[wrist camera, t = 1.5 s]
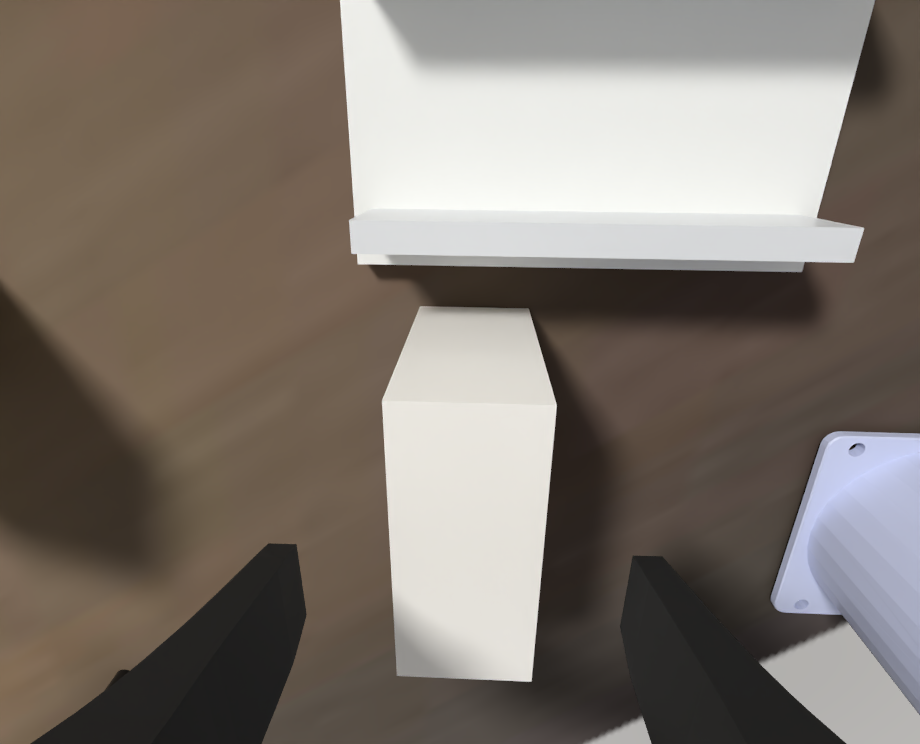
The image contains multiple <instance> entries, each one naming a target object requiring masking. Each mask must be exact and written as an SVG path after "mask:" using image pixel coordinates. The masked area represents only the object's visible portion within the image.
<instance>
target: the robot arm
mask: <svg viewBox="0 0 920 744" xmlns="http://www.w3.org/2000/svg"><path fill="white" fill-rule="evenodd" d="M854 444H857V445H856V447H855V448H853V449H852V450H849V449H850V447H851V446H852V445H854ZM771 602H772V603H773V605H774V607H775V608H776V610H778V611H780V612H784V613H808V614H834V615H843V617H844V618H845V619H846V620H847V622H848V623H849V624H850V626H851V627H852V628H853V629H854V630H855V632H856V633H857V635H858V636H859V637H860V638H861V640H862V641H863V642H864V644H865V645H866V646H867V648H868V649H869V650H870V651H871V653H872V654H873V655H874V657H875V658H876V659H877V660H878V662H879V663H880V664H881V666H882V667H883V668H884V669H885V671H886V672H887V673H888V675H889V676H890V677H891V678H892V680H893V681H894V682H895V684H896V685H897V686H898V688H899V689H900V690H901V691H902V693H903V694H904V695H905V697H906V698H907V699H908V700H909V702H910V703H911V704H912V706H913V707H914V708H915V709H916V711H917V712H918V713H919V715H920V434H916V433H880V432H844V431H839V432H833V433H831V434H829V435H827V436H826V437H825V438H824V439H823V440H822V442H821V444H820V447H819V450H818V453H817V456H816V459H815V462H814V465H813V468H812V471H811V474H810V477H809V481H808V484H807V487H806V490H805V493H804V496H803V499H802V502H801V505H800V508H799V511H798V514H797V517H796V521H795V524H794V527H793V530H792V533H791V536H790V539H789V542H788V545H787V548H786V551H785V554H784V557H783V561H782V564H781V567H780V570H779V573H778V576H777V579H776V582H775V585H774V588H773V591H772V594H771ZM305 618H306V608H305V601H304V594H303V587H302V580H301V573H300V566H299V559H298V552H297V545H296V544H268V545H266V546H265V547H264V548H263V549H262V550H261V551H260V552H259V553H258V554H257V555H256V556H255V557H254V558H253V559H252V560H251V561H250V562H249V563H248V564H247V565H246V566H245V567H244V568H243V569H242V570H241V571H240V572H239V573H238V574H236V575H235V576H234V577H233V578H232V579H231V580H230V581H229V582H228V583H227V584H226V585H225V586H224V587H223V588H222V589H221V590H220V591H219V592H218V593H217V594H216V595H215V596H214V597H213V598H212V599H211V600H210V601H209V602H207V603H206V604H205V605H204V606H203V607H202V608H201V609H200V610H199V611H198V612H197V613H196V614H195V615H194V616H193V617H191V618H190V619H189V620H188V621H187V622H186V623H185V624H184V625H183V626H182V627H181V628H180V629H178V630H177V631H176V632H175V633H174V634H173V635H171V636H170V637H169V638H168V639H167V640H166V641H165V642H163V643H162V644H161V645H160V646H159V647H158V648H157V649H155V650H154V651H153V652H152V653H151V654H150V655H149V656H147V657H146V658H145V659H144V660H143V661H142V662H140V663H139V664H138V665H137V666H135V667H134V668H133V669H132V670H131V671H129V672H128V673H127V674H126V675H124V676H123V677H122V678H121V679H119V680H118V681H117V682H116V683H114V684H113V685H112V686H110V687H109V688H108V689H107V690H105V691H104V692H103V693H101V694H100V695H99V696H97V697H96V698H95V699H93V700H92V701H91V702H89V703H88V704H87V705H85V706H84V707H83V708H81V709H80V710H79V711H77V712H76V713H75V714H73V715H72V716H70V717H69V718H67V719H66V720H64V721H63V722H61V723H60V724H59V725H57V726H56V727H54V728H53V729H51V730H50V731H48V732H47V733H46V734H44V735H43V736H41V737H40V738H38V739H37V740H35V741H34V742H32V743H31V744H261V743H262V741H263V738H264V736H265V733H266V731H267V728H268V726H269V723H270V721H271V718H272V716H273V713H274V711H275V708H276V706H277V703H278V701H279V698H280V696H281V693H282V691H283V688H284V686H285V683H286V681H287V678H288V676H289V673H290V670H291V668H292V665H293V662H294V659H295V655H296V652H297V648H298V645H299V641H300V637H301V634H302V630H303V626H304V622H305ZM620 628H621V633H622V638H623V643H624V648H625V654H626V658H627V663H628V668H629V672H630V677H631V680H632V683H633V687H634V690H635V693H636V696H637V699H638V702H639V706H640V709H641V712H642V715H643V718H644V721H645V724H646V728H647V730H648V734H649V737H650V740H651V743H652V744H846V743H845V742H844V741H842V740H841V739H840V738H839V737H838V736H837V735H836V734H835V733H833V732H832V731H831V730H830V729H829V728H828V727H827V726H826V725H824V724H823V723H822V722H821V721H820V720H819V719H817V718H816V717H815V716H814V715H813V714H812V713H811V712H810V711H808V710H807V709H806V708H805V707H804V706H803V705H802V704H801V703H799V701H797V700H796V699H795V698H794V697H793V696H792V695H791V694H790V693H789V692H788V691H787V690H786V689H785V688H784V687H783V686H782V685H781V684H780V683H779V682H778V681H777V680H775V679H774V678H773V677H772V676H771V675H770V674H769V673H768V672H767V671H766V670H765V669H764V668H763V667H762V666H761V665H760V664H759V663H758V662H757V661H756V660H755V659H754V658H753V657H752V655H751V654H750V653H749V652H748V651H747V650H746V649H745V648H744V647H743V646H742V645H741V644H740V643H739V642H738V641H737V640H736V639H735V638H734V636H733V635H732V634H731V633H730V632H729V631H728V630H727V629H726V628H725V627H724V626H723V625H722V624H721V623H720V621H719V620H718V619H717V618H716V617H715V616H714V615H713V614H712V613H711V612H710V610H709V609H708V608H707V607H706V606H705V605H704V604H703V603H702V601H701V600H700V599H699V598H698V597H697V596H696V595H695V593H694V592H693V591H692V590H691V589H690V588H689V587H688V585H687V584H686V583H685V582H684V581H683V580H682V579H681V577H680V576H679V575H678V574H677V573H676V572H675V571H674V569H673V568H672V567H671V566H670V565H669V564H668V563H667V561H666V560H665V559H664V558H663V557H658V556H633V558H632V564H631V569H630V575H629V580H628V586H627V591H626V597H625V602H624V608H623V614H622V619H621V625H620Z"/></svg>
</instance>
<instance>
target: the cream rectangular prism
mask: <svg viewBox="0 0 920 744" xmlns="http://www.w3.org/2000/svg"><path fill="white" fill-rule="evenodd" d="M382 409H383V427H384V445H385V464H386V482H387V500H388V519H389V537H390V555H391V574H392V592H393V610H394V629H395V647H396V665H397V676H413V677H436V678H458V679H481V680H503V681H526V682H531V681H532V670H533V660H534V649H535V638H536V627H537V616H538V605H539V594H540V584H541V573H542V562H543V551H544V540H545V529H546V518H547V508H548V497H549V486H550V475H551V464H552V453H553V442H554V431H555V421H556V410H557V404H556V401H555V397H554V394H553V390H552V387H551V383H550V380H549V376H548V373H547V370H546V366H545V363H544V359H543V356H542V352H541V349H540V346H539V342H538V339H537V335H536V332H535V328H534V325H533V322H532V318H531V315H530V311H529V308H484V307H435V306H420V308H419V311H418V313H417V316H416V318H415V321H414V323H413V325H412V328H411V330H410V333H409V335H408V338H407V340H406V343H405V345H404V348H403V350H402V353H401V355H400V358H399V360H398V363H397V365H396V367H395V370H394V372H393V375H392V377H391V380H390V382H389V385H388V387H387V390H386V392H385V395H384V397H383V400H382Z"/></svg>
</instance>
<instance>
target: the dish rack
mask: <svg viewBox="0 0 920 744" xmlns="http://www.w3.org/2000/svg"><path fill="white" fill-rule="evenodd" d="M874 2H875V0H340V6H341V21H342V36H343V51H344V66H345V80H346V95H347V110H348V125H349V140H350V155H351V170H352V185H353V200H354V215H355V217H354V218H352V219H350V220H349V225H350V239H351V253H352V254H357V259H358V264H378V265H434V266H489V267H544V268H600V269H655V270H711V271H766V272H802V270H803V266H804V263H805V262H846V263H854V260H855V257H856V253H857V250H858V247H859V244H860V240H861V237H862V234H863V231H864V228H862V227H857V226H852V225H847V224H842V223H837V222H833V221H828V220H823V219H818V218H817V214H818V211H819V207H820V203H821V199H822V196H823V192H824V188H825V185H826V181H827V177H828V173H829V170H830V166H831V162H832V158H833V155H834V151H835V147H836V144H837V140H838V136H839V132H840V129H841V125H842V121H843V118H844V114H845V110H846V106H847V103H848V99H849V95H850V92H851V88H852V84H853V80H854V77H855V73H856V69H857V65H858V62H859V58H860V54H861V51H862V47H863V43H864V39H865V36H866V32H867V28H868V25H869V21H870V17H871V13H872V10H873V6H874Z"/></svg>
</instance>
